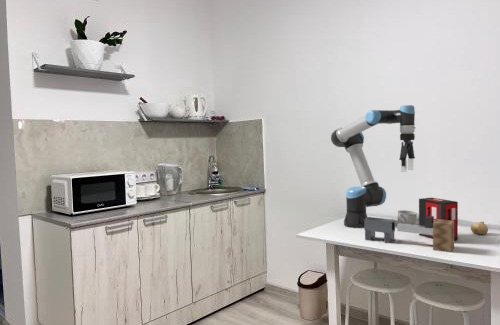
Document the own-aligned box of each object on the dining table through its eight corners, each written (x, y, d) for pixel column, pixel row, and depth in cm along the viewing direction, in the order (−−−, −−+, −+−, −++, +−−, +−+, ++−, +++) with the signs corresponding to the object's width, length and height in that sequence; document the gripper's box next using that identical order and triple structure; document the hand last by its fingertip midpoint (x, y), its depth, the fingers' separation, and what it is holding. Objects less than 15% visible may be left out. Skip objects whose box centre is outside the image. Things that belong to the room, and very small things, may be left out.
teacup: (407, 222, 237) (407, 209, 236) (421, 225, 227) (421, 212, 226) (389, 224, 232) (389, 211, 231) (402, 228, 222) (402, 214, 221)
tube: (396, 231, 189) (396, 214, 188) (399, 229, 193) (399, 213, 192) (443, 236, 176) (443, 219, 176) (445, 234, 180) (445, 217, 180)
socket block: (433, 249, 177) (433, 222, 177) (436, 245, 184) (436, 219, 184) (450, 252, 173) (450, 224, 172) (454, 247, 180) (454, 220, 179)
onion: (483, 236, 198) (484, 223, 197) (468, 234, 204) (468, 221, 204) (490, 234, 202) (490, 221, 202) (474, 231, 209) (474, 219, 208)
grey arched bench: (364, 239, 198) (363, 219, 198) (368, 236, 204) (368, 216, 203) (391, 243, 190) (391, 222, 189) (395, 240, 195) (395, 219, 195)
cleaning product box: (457, 240, 192) (457, 201, 191) (444, 242, 189) (444, 203, 188) (431, 233, 208) (431, 197, 206) (419, 235, 204) (418, 198, 203)
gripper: (408, 133, 198) (408, 173, 200) (420, 132, 218) (419, 169, 219) (393, 133, 203) (393, 172, 204) (406, 133, 222) (406, 168, 224)
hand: (407, 170), depth 212 cm, fingers open, 13 cm apart
